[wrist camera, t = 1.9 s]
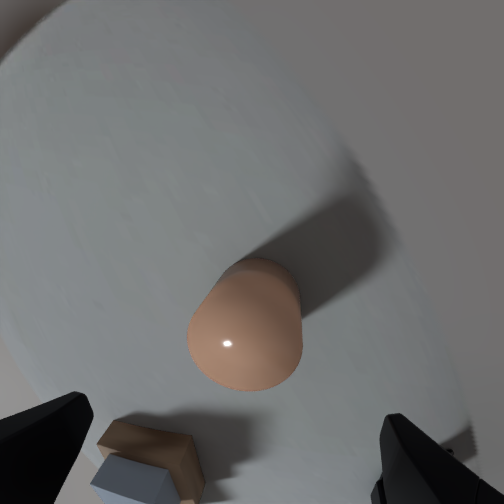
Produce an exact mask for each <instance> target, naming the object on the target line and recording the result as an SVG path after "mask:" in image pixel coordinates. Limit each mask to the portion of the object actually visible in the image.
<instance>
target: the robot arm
mask: <svg viewBox="0 0 504 504" xmlns="http://www.w3.org/2000/svg"><path fill="white" fill-rule="evenodd" d="M93 417H94V414H93V410H92V408H91V406H90V403H89V401H88V398H87V396H86V395H85V394H83V393H80V392H76V391H74V392H71V393H68V394H66V395H64V396H61V397H59V398H56V399H54V400H51V401H49V402H46V403H43V404H41V405H38V406H36V407H33V408H31V409H28V410H25V411H23V412H20V413H17V414H15V415H12V416H9V417H7V418H3V419H1V420H0V504H54V502H55V500H56V498H57V496H58V494H59V492H60V490H61V488H62V486H63V484H64V482H65V480H66V478H67V476H68V474H69V472H70V470H71V468H72V466H73V464H74V462H75V461H76V459H77V457H78V454H79V452H80V450H81V448H82V445H83V443H84V440H85V438H86V435H87V433H88V430H89V428H90V425H91V423H92V420H93ZM380 450H381V460H382V471H383V472H382V474H381V477H380V479H379V480H378V481H377V482H376V484H375V486H374V489H373V491H372V493H371V501H372V504H504V495H503V494H502V493H500V492H499V491H497V490H496V489H495V488H493V487H492V486H490V485H489V484H488V483H486V482H485V481H484V480H483V479H480V478H479V476H477V475H476V474H475V473H474V472H472V471H471V470H470V469H469V468H467V467H466V466H465V465H464V464H462V463H461V462H460V461H459V460H457V459H456V458H455V457H454V456H453V455H454V453H453V450H452V449H449V450H445V449H444V448H442V447H441V446H440V445H439V444H437V443H436V442H435V441H434V440H433V439H431V438H430V437H429V436H428V435H426V434H425V433H424V432H423V431H422V430H420V429H419V428H418V427H417V426H416V425H414V424H413V423H412V422H411V421H409V420H408V419H407V418H406V417H405V416H403V415H402V414H400V413H396V414H388V415H387V416H386V417H385V419H384V422H383V426H382V429H381V433H380Z"/></svg>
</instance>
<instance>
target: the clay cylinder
mask: <svg viewBox="0 0 504 504" xmlns="http://www.w3.org/2000/svg"><path fill="white" fill-rule="evenodd" d="M187 343H188V348H189V351H190V354H191V357H192V358H193V360H194V362H195V363H196V365H197V366H198V368H199V369H200V370H201V371H202V372H203V373H204V374H205V375H206V376H207V377H209V378H210V379H212V380H213V381H215V382H216V383H218V384H220V385H222V386H225V387H227V388H230V389H234V390H239V391H260V390H265V389H268V388H271V387H274V386H276V385H278V384H280V383H281V382H283V381H284V380H286V379H287V378H288V377H289V376H290V375H291V374H292V373H293V372H294V371H295V369H296V367H297V366H298V364H299V361H300V359H301V355H302V349H303V342H302V322H301V304H300V292H299V288H298V285H297V283H296V281H295V279H294V278H293V276H292V275H291V274H290V273H289V272H288V271H287V270H286V269H285V268H284V267H283V266H281V265H279V264H278V263H276V262H273V261H271V260H267V259H262V258H250V259H245V260H242V261H239V262H237V263H235V264H233V265H232V266H230V267H229V268H228V269H227V270H226V271H225V272H224V273H223V274H222V276H221V277H220V278H219V280H218V281H217V283H216V284H215V285H214V287H213V288H212V290H211V291H210V292H209V294H208V295H207V297H206V298H205V299H204V301H203V302H202V304H201V305H200V306H199V308H198V309H197V311H196V312H195V313H194V315H193V317H192V319H191V321H190V323H189V327H188V331H187Z"/></svg>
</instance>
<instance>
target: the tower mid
mask: <svg viewBox="0 0 504 504" xmlns="http://www.w3.org/2000/svg"><path fill="white" fill-rule="evenodd" d="M90 485H91V486H92V488H93V489H94V490H95V492H96V493H97V494H98V496H99V497H100V498H101V500H102V501H103V502H104V504H180V503H181V499H180V497H179V495H178V492H177V490H176V488H175V485H174V483H173V480H172V478H171V475H170V473H169V470H168V469H163V468H159V467H155V466H151V465H147V464H143V463H139V462H135V461H132V460H128V459H125V458H121V457H118V456H115V455H112V454H109V455H108V456H107V458H106V459H105V461H104V463H103V464H102V466H101V467H100V469H99V470H98V472H97V473H96V475H95V477H94V478H93V480H92V482H91V483H90Z"/></svg>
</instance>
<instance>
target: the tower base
mask: <svg viewBox="0 0 504 504" xmlns="http://www.w3.org/2000/svg"><path fill="white" fill-rule="evenodd" d="M97 446H98V448H99V450H100V452H101V454H102V455H103V457H104V459H106V458H107V456H108V455H109V454H112V455H115V456H118V457H121V458H125V459H128V460H132V461H135V462H139V463H143V464H147V465H151V466H155V467H159V468H163V469H168V470H169V473H170V475H171V478H172V480H173V483H174V485H175V488H176V490H177V492H178V495H179V497H180V499H181V503H180V504H199V502H200V498H201V495H202V492H203V489H204V486H205V480H204V477H203V473H202V470H201V467H200V463H199V460H198V456H197V453H196V449H195V446H194V442H193V438H192V435H185V434H178V433H172V432H166V431H161V430H155V429H150V428H145V427H140V426H136V425H131V424H127V423H123V422H119V421H115V420H113V422H112V423H111V424H110V426H109V427H108V429H107V430H106V431H105V433H104V434H103V436H102V437H101V438H100V440H99V441H98V443H97Z"/></svg>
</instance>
